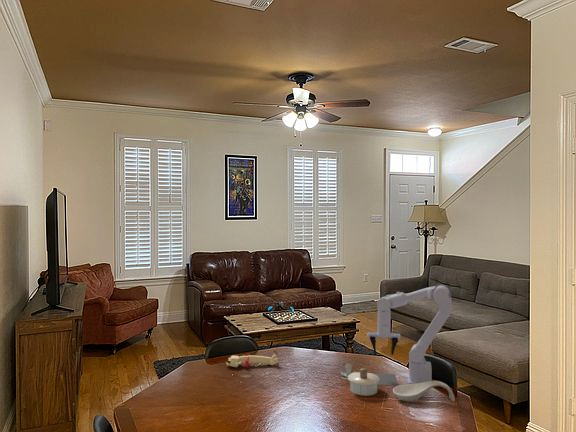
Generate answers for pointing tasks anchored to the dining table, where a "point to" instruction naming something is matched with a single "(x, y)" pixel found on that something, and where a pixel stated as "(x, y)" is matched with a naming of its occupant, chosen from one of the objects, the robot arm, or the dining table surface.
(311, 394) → the dining table surface
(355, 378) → the lid
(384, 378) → the mat
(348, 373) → the pacifier
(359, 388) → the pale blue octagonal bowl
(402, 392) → the spoon rest
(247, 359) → the cream plush toy
